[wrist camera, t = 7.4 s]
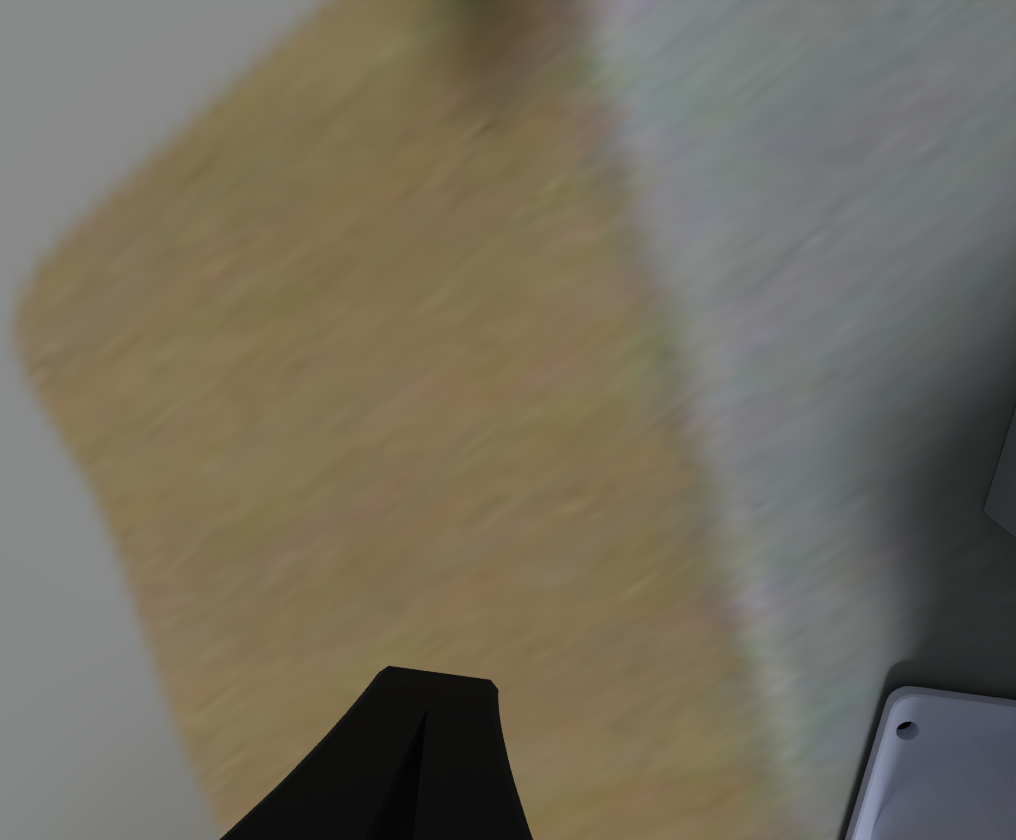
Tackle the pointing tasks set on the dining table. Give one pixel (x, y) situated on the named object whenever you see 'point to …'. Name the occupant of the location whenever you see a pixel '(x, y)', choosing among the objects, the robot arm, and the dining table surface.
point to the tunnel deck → (1004, 485)
